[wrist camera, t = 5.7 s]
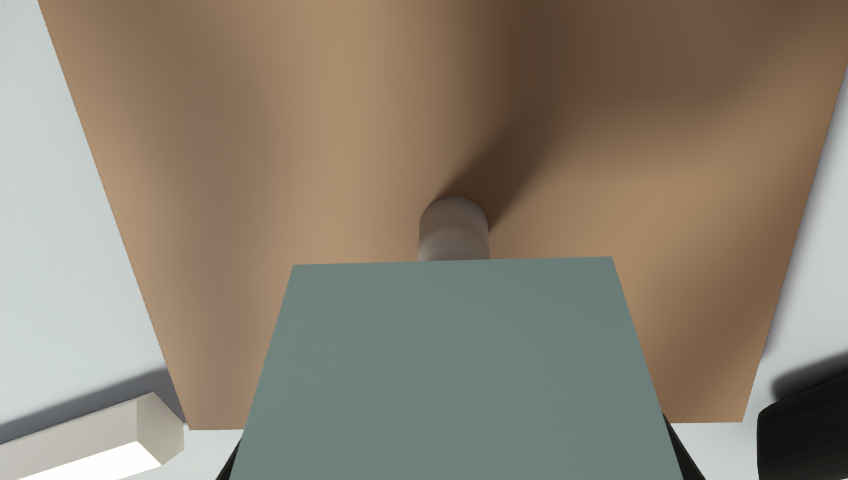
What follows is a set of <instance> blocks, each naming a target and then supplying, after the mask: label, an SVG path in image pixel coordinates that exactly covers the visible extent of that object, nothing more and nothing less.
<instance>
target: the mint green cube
mask: <svg viewBox="0 0 848 480" xmlns="http://www.w3.org/2000/svg"><path fill="white" fill-rule="evenodd" d="M229 480H683V477H682V474H681V471H680V468H679V464H678V461H677V458H676V455H675V452H674V449H673V446H672V443H671V439H670V436H669V433H668V430H667V427H666V424H665V421H664V418H663V415H662V411H661V408H660V405H659V402H658V399H657V396H656V393H655V390H654V386H653V383H652V380H651V377H650V374H649V371H648V368H647V365H646V361H645V358H644V355H643V352H642V349H641V346H640V343H639V340H638V336H637V333H636V330H635V327H634V324H633V321H632V318H631V315H630V311H629V308H628V305H627V302H626V299H625V296H624V293H623V290H622V286H621V283H620V280H619V277H618V274H617V271H616V268H615V265H614V261H613V258H612V256H603V257H565V258H527V259H489V260H451V261H413V262H375V263H338V264H300V265H293V268H292V271H291V274H290V278H289V281H288V284H287V288H286V291H285V294H284V298H283V301H282V305H281V308H280V311H279V315H278V318H277V321H276V325H275V328H274V331H273V335H272V338H271V341H270V345H269V348H268V351H267V355H266V358H265V361H264V365H263V368H262V371H261V375H260V378H259V381H258V385H257V388H256V391H255V395H254V398H253V401H252V405H251V408H250V411H249V415H248V418H247V422H246V425H245V428H244V432H243V435H242V438H241V442H240V445H239V448H238V452H237V455H236V458H235V462H234V465H233V468H232V472H231V475H230V478H229Z"/></svg>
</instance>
